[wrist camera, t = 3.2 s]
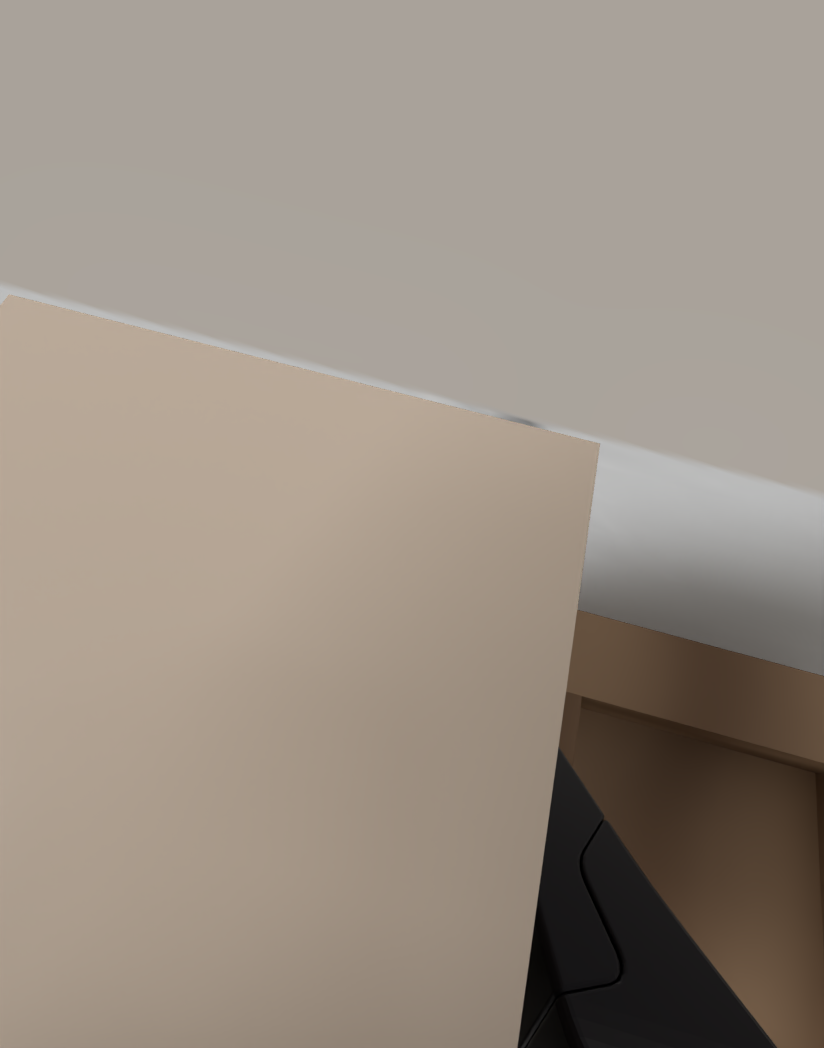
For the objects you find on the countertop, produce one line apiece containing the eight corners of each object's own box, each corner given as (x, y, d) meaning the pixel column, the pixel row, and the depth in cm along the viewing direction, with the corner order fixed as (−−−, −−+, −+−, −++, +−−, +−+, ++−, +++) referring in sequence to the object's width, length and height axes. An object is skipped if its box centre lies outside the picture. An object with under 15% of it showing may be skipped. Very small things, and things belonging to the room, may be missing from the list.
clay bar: (439, 654, 15) (599, 443, 4) (395, 842, 13) (459, 1470, 2) (281, 610, 15) (9, 294, 4) (214, 788, 13) (-612, 1084, 2)
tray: (813, 707, 15) (919, 701, 12) (838, 1230, 11) (1008, 1417, 8) (520, 627, 15) (552, 603, 12) (435, 1099, 11) (454, 1231, 8)
